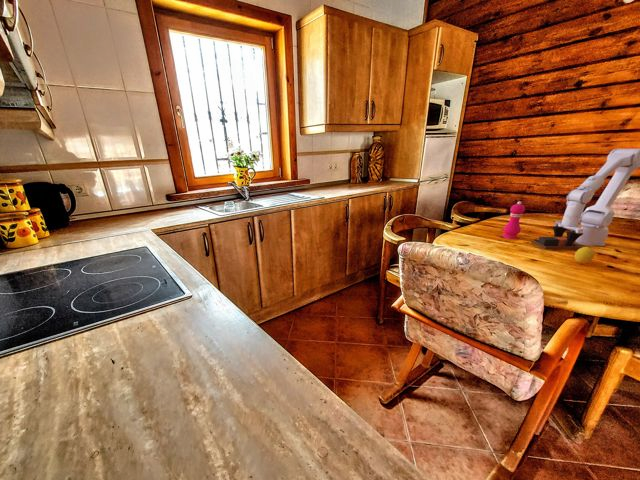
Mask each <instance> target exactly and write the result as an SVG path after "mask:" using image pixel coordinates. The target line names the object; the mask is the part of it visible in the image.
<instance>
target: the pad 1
mask: <svg viewBox="0 0 640 480" xmlns="http://www.w3.org/2000/svg"><path fill="white" fill-rule="evenodd" d="M537 240H538V242H539V243H541V244H543V245H545V246H558V243H559V239H557V238H554V236H539V237H538V239H537Z"/></svg>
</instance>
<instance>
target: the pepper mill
mask: <svg viewBox="0 0 640 480" xmlns="http://www.w3.org/2000/svg"><path fill="white" fill-rule="evenodd" d="M509 211H510V215H509V216H510V218H509V221H508V222H507V223H506V224H505V226H504V227H503V230H502V231H503V235H502V238H504V239H507V240H517V239H518V237H519V236H518V234H520V233H521V225H520V220H521V218H522V217H523V214H524V212H525V211H526V207H525V205H524V204H523V203H522V201H521V200H519V201H517V202H516V204H513V205H512V206H511V207H510V210H509Z"/></svg>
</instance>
